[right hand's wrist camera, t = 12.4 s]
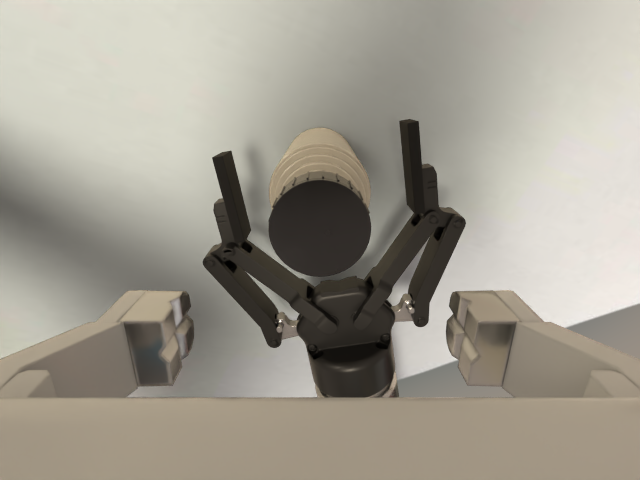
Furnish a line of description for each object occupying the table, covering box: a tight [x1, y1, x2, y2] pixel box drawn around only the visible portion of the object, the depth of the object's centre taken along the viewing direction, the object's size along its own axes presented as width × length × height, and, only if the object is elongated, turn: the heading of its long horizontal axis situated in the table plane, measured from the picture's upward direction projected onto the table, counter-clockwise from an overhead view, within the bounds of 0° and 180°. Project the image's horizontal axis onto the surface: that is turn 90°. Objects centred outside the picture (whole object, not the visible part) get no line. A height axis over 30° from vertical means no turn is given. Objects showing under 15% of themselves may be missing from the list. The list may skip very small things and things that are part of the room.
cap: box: [269, 170, 371, 276], centre depth 18 cm, size 5×5×2 cm
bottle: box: [269, 128, 371, 210], centre depth 26 cm, size 6×6×18 cm
